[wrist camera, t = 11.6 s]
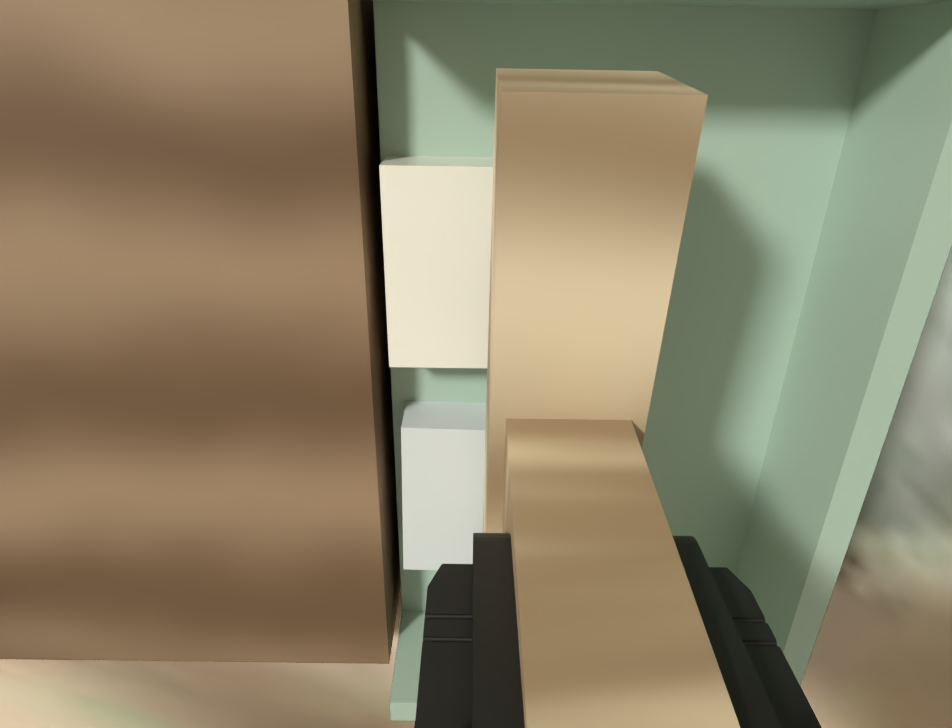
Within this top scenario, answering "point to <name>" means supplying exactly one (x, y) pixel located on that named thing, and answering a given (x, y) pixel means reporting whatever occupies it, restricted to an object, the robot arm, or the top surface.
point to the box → (731, 254)
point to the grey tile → (441, 482)
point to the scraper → (590, 396)
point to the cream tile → (437, 259)
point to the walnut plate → (193, 334)
